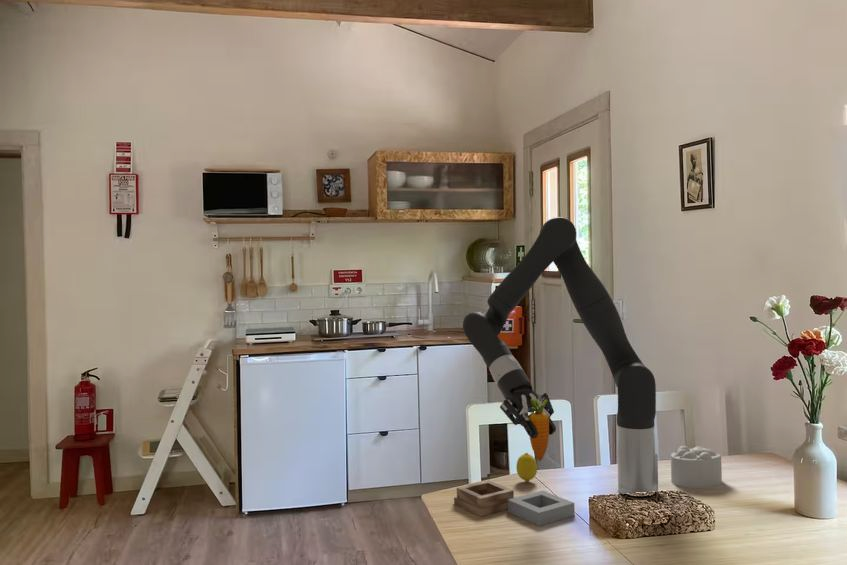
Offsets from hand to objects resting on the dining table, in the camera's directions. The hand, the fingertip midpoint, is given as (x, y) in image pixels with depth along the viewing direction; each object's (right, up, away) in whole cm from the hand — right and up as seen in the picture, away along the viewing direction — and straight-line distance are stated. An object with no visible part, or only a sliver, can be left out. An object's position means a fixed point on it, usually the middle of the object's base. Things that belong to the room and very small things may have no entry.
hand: (544, 434), depth 157 cm
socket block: (0, -19, +2) cm, 19 cm away
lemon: (0, -19, +26) cm, 32 cm away
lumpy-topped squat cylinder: (+44, -18, +23) cm, 53 cm away
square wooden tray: (-13, -19, +9) cm, 25 cm away
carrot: (-1, -7, +2) cm, 7 cm away
